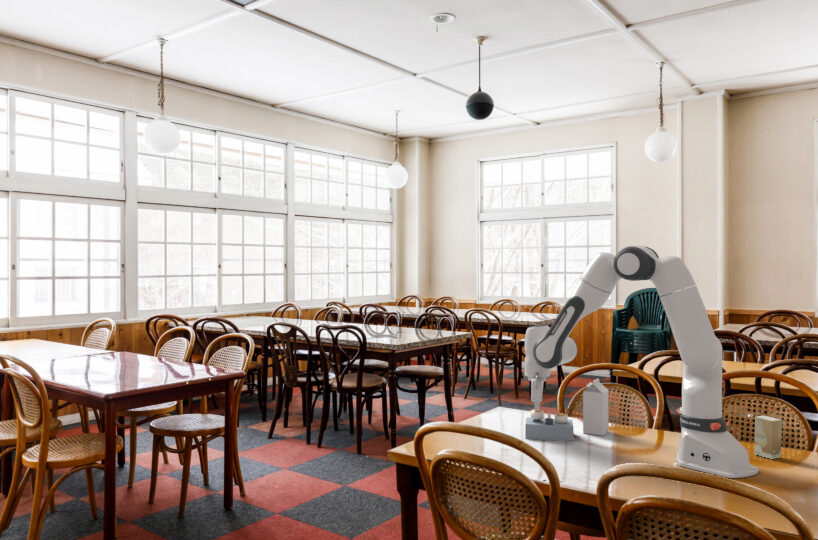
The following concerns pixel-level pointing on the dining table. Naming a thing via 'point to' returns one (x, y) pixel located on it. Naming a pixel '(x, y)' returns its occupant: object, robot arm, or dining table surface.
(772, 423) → the skincare box
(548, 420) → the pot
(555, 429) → the mount
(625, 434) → the dining table surface
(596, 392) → the milk carton
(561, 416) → the knob
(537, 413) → the knob
